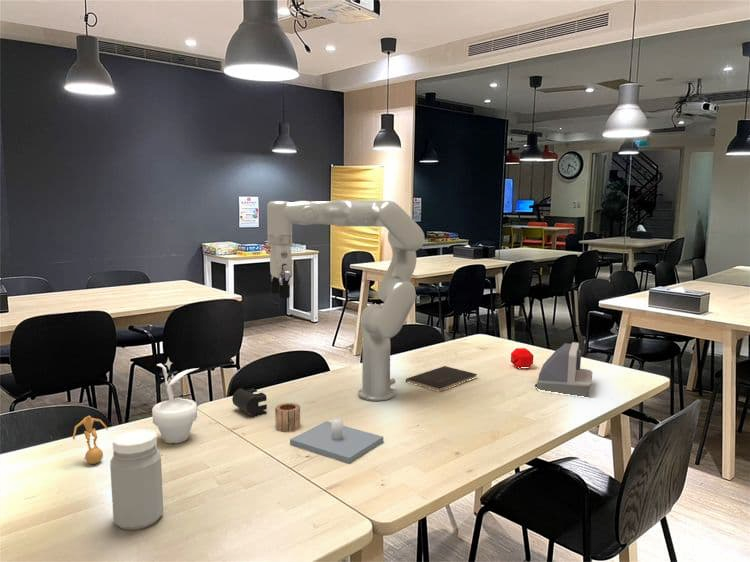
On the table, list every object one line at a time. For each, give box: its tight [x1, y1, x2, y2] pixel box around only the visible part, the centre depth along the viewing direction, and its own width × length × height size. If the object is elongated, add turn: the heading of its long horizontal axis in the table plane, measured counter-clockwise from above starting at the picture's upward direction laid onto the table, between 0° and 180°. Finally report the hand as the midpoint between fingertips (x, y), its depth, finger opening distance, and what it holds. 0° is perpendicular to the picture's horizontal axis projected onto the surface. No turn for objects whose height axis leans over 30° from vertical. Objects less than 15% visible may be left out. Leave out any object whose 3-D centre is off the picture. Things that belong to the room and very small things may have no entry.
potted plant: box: [151, 357, 200, 445], centre depth 154 cm, size 13×12×25 cm
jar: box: [109, 428, 164, 531], centre depth 115 cm, size 10×10×18 cm
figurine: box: [72, 415, 109, 465], centre depth 141 cm, size 8×6×12 cm
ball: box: [510, 347, 535, 368], centre depth 227 cm, size 8×8×8 cm
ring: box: [274, 402, 301, 432], centre depth 165 cm, size 7×7×6 cm
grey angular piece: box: [534, 341, 593, 398], centre depth 203 cm, size 21×21×15 cm
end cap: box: [231, 387, 268, 418], centre depth 176 cm, size 10×7×7 cm
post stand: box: [289, 418, 384, 464], centre depth 153 cm, size 16×20×6 cm
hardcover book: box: [405, 365, 478, 392], centre depth 210 cm, size 16×23×2 cm
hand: (280, 295), depth 176 cm, fingers open, 9 cm apart
